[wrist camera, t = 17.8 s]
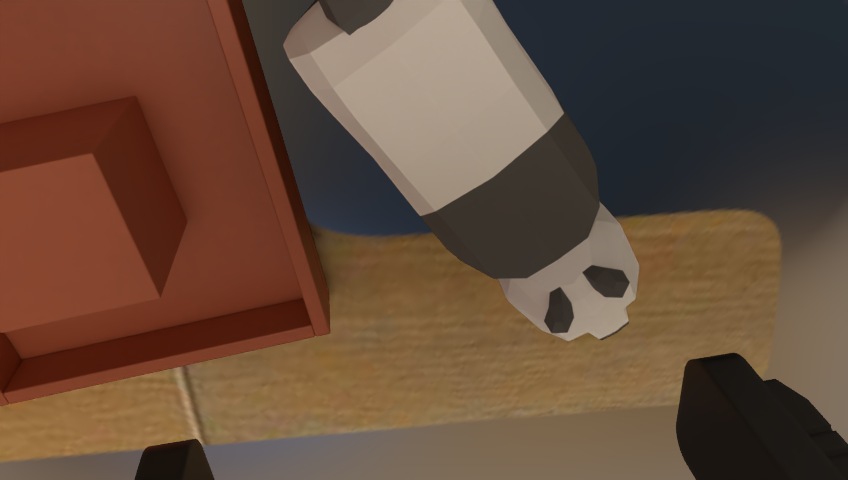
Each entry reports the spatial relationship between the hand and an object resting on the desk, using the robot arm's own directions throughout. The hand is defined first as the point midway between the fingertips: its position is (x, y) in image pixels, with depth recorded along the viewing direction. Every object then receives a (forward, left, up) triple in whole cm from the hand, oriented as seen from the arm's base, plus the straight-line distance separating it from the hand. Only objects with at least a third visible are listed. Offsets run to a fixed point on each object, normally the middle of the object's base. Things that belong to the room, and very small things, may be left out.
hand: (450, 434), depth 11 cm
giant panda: (-3, 0, -16) cm, 16 cm away
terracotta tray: (+10, 0, -16) cm, 19 cm away
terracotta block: (+10, 0, -15) cm, 18 cm away
